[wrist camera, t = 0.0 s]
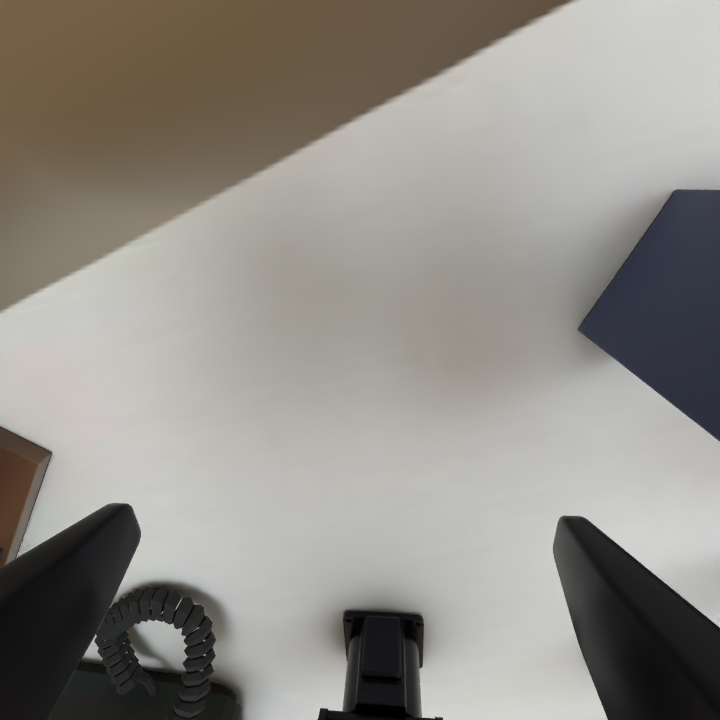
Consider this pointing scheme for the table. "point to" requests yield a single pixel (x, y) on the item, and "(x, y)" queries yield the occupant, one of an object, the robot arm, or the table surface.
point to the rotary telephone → (142, 688)
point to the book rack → (18, 488)
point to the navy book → (670, 308)
